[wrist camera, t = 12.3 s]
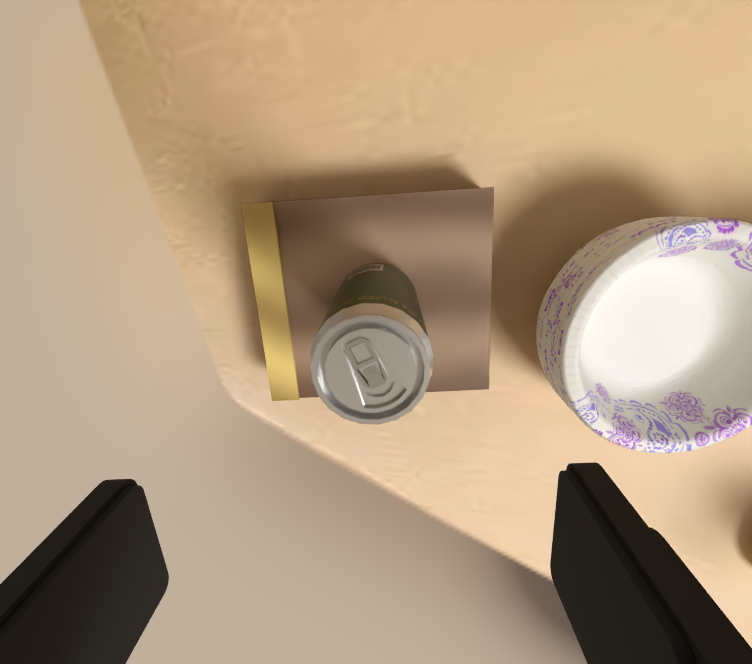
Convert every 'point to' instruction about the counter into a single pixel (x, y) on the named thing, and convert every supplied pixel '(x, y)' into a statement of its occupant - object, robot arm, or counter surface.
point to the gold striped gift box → (365, 246)
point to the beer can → (372, 347)
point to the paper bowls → (655, 333)
